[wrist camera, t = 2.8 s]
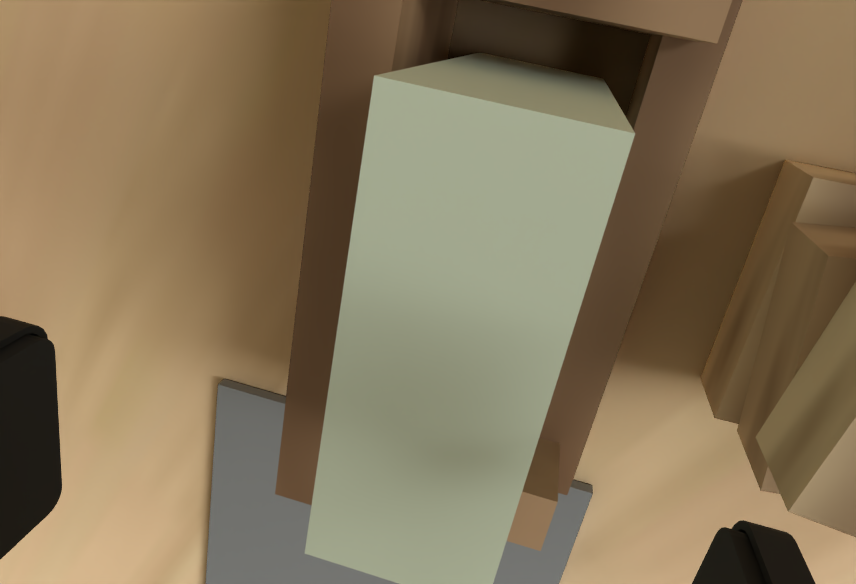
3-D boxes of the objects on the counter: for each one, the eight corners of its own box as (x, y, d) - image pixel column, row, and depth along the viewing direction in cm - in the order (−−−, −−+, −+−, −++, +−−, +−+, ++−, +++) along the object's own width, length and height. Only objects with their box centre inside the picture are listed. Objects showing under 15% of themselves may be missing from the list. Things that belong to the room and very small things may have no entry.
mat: (592, 485, 26) (592, 493, 25) (500, 732, 32) (499, 742, 32) (223, 378, 28) (218, 384, 27) (207, 632, 34) (202, 640, 34)
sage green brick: (603, 79, 20) (635, 133, 9) (525, 351, 24) (484, 610, 13) (480, 52, 21) (373, 75, 10) (423, 324, 25) (304, 553, 14)
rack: (729, -28, 18) (809, -59, 12) (568, 445, 25) (565, 584, 19) (421, -86, 20) (348, -143, 13) (347, 383, 26) (274, 494, 20)
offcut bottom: (951, 190, 20) (1011, 216, 17) (842, 407, 23) (877, 458, 20) (781, 157, 20) (813, 177, 18) (698, 373, 24) (714, 417, 21)
